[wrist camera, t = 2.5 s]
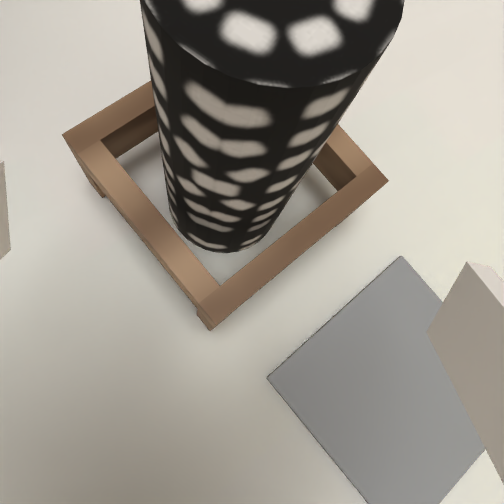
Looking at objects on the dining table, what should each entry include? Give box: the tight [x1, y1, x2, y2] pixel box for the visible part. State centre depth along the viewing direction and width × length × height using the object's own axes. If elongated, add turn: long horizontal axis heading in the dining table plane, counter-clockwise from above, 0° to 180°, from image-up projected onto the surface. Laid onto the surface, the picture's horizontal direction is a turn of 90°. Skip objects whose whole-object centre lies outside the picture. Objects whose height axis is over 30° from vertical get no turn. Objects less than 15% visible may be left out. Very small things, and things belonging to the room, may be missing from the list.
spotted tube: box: [140, 0, 404, 253], centre depth 22 cm, size 8×8×20 cm
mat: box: [267, 256, 485, 504], centre depth 30 cm, size 14×14×1 cm
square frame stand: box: [62, 81, 389, 331], centre depth 29 cm, size 14×14×7 cm
